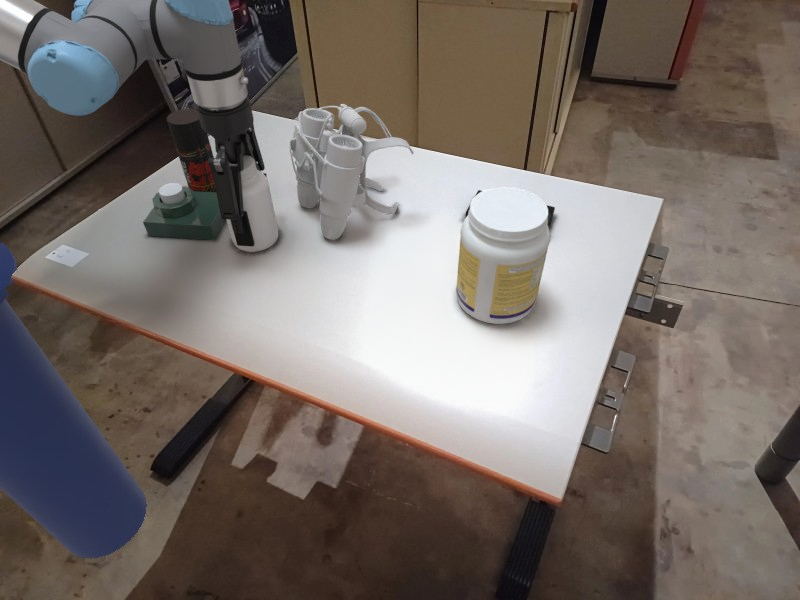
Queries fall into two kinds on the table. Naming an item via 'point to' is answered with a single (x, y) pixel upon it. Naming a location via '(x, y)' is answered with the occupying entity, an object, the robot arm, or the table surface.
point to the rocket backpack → (336, 164)
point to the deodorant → (192, 149)
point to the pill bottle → (257, 207)
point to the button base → (186, 216)
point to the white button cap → (172, 193)
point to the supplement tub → (502, 254)
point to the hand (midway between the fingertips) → (253, 228)
